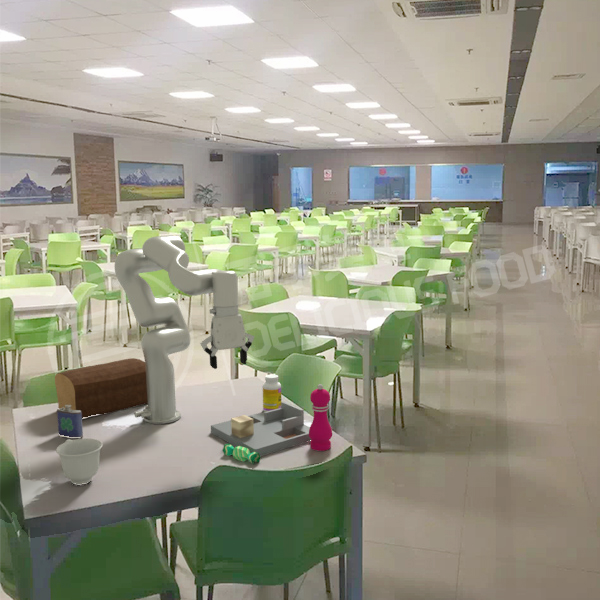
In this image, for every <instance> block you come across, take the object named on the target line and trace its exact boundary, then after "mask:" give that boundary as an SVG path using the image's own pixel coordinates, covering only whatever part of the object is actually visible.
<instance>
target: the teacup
mask: <svg viewBox="0 0 600 600" xmlns="http://www.w3.org/2000/svg"><path fill="white" fill-rule="evenodd" d="M101 448H103V442H101V441H100V440H99V439H95V438H94V439H93V438H81V439H71V438H67V439H66V440H65V442H64V443H60V444H59V445H58V446H57V448H56V450H55V451H56V454H58V455H59V458H60V463H61V468H62V473H63V475H64V476H65V478H67V479H68V480H70V483H71V482H72V483H76V484H82V483H87V482H89V481H91V480H92V478H93V477H94V476H96V475H97V473H98V471H99V467H100V453H101Z"/></svg>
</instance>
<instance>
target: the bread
mask: <svg viewBox="0 0 600 600" xmlns="http://www.w3.org/2000/svg"><path fill="white" fill-rule="evenodd" d="M54 384H55V390H56V397H57V403H58V404H57V405H58V408H62V407H64V408H67V407H65V405H69V406H70V405H71V409H70V410H80V411H81V413H82V418H83V417H88V416H91V415H96V414H103V415H105V414H104V413H107V414H111V413H114V412H119V411H122V410H127V409H131V408H134V407H137V406H143V405H146V404H147V405H148V401H147V382H146V366H145V360H144V361H143V360H142V359H140V358H132V357H129V358H126V359H125V358H124V359H119V360H116V361H115V360H114V361H110V362H104V363H99V364H94V365H88V366H83V367H78V368H75V369H74V368H73V369H68V370H64V371H62V372H57V373H56V374H55V375H54ZM58 408H57V409H58Z"/></svg>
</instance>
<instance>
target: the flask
mask: <svg viewBox="0 0 600 600" xmlns="http://www.w3.org/2000/svg"><path fill="white" fill-rule="evenodd" d="M65 407H67V408H64V407H62V408H59V409H58V408H57V410H56V416H57V431H58V432H57V433H59V434H60V435H64V436H69V437H81V438H82V437H83V438H84V430H83V420H82V413H81V411H80V410H70V409H71V405H70V406H69V405H65Z"/></svg>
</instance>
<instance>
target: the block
mask: <svg viewBox="0 0 600 600" xmlns="http://www.w3.org/2000/svg"><path fill="white" fill-rule="evenodd" d="M248 416H249V415H246V414H243V415H239V416H236V417H232V418H231V419H230V420H231V428H232V434H233V435H235V436H237V437H239V438H243V437H246V436H250V435H253V434H254V423H253V419H252V418H250V417H248Z"/></svg>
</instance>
